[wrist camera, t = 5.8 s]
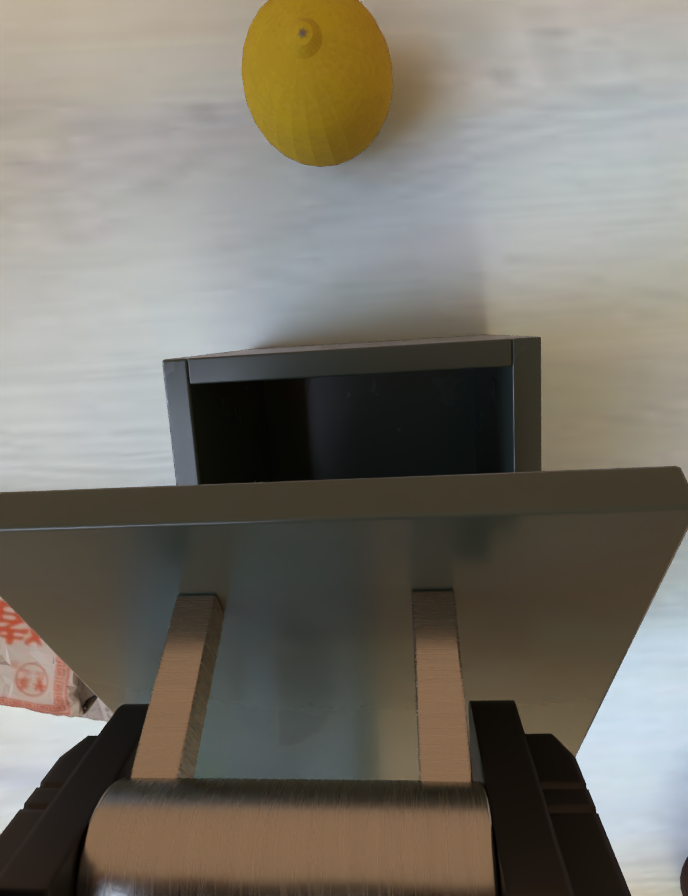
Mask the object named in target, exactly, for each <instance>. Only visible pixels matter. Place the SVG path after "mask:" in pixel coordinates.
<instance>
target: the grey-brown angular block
mask: <svg viewBox="0 0 688 896" xmlns="http://www.w3.org/2000/svg"><path fill="white" fill-rule="evenodd" d="M0 705H5V706H11V707H20V708H26V709H29V710H32V711H36V712H40V713H46V714H52V715H56V716H62V715H65V716H68V717H75V716H76V717H83V718H89V719H92V720H101V721H106V722H108V721H109V720H110V718H111V717H112V716H113V712H112V711H111V710H110V709H109V708H108V707H107V706H106V705H105V704H104V703H103V702H102V701H101V700H100V699H99V698H98V697H97V696H96V695H95V694H94V693H93V692H92V691H91V690H90V689H89V688H88V687H87V686H86V685H85V684H84V683H83V682H82V681H81V679H80V678H79V677H78V676H77V675H76V674H75V673H74V672H73V671H72V670H71V669H70V668H69V667H68V666H67V665H66V664H65V663H64V662H63V661H62V660H61V659H60V658H59V657H58V656H57V655H56V654H55V653H54V652H53V651H52V650H51V649H50V648H49V646H48V645H47V644H46V643H45V642H44V641H43V640H42V639H41V638H40V637H39V636H38V635H37V634H36V633H35V632H34V631H33V630H32V629H31V628H30V627H29V626H28V625H27V624H26V623H25V622H24V621H23V620H22V619H21V618H20V617H19V616H18V615H17V613H16V612H15V611H14V610H13V609H12V608H11V607H10V606H9V605H8V604H7V603H6V602H5V601H4V600H3V599H2V598H1V597H0Z"/></svg>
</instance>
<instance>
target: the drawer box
mask: <svg viewBox="0 0 688 896" xmlns="http://www.w3.org/2000/svg"><path fill="white" fill-rule="evenodd" d="M162 363H163V372H164V381H165V389H166V398H167V407H168V415H169V424H170V433H171V441H172V450H173V459H174V467H175V476H176V485H177V486H178V485H204V484H229V483H255V482H281V481H306V480H332V479H357V478H383V477H409V476H434V475H460V474H485V473H511V472H537V471H541V338H540V337H533V336H510V335H472V336H455V337H439V338H423V339H407V340H391V341H375V342H359V343H342V344H326V345H310V346H294V347H278V348H262V349H248V350H239V351H231V352H223V353H215V354H206V355H198V356H190V357H182V358H173V359H165V360H163V362H162Z"/></svg>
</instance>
